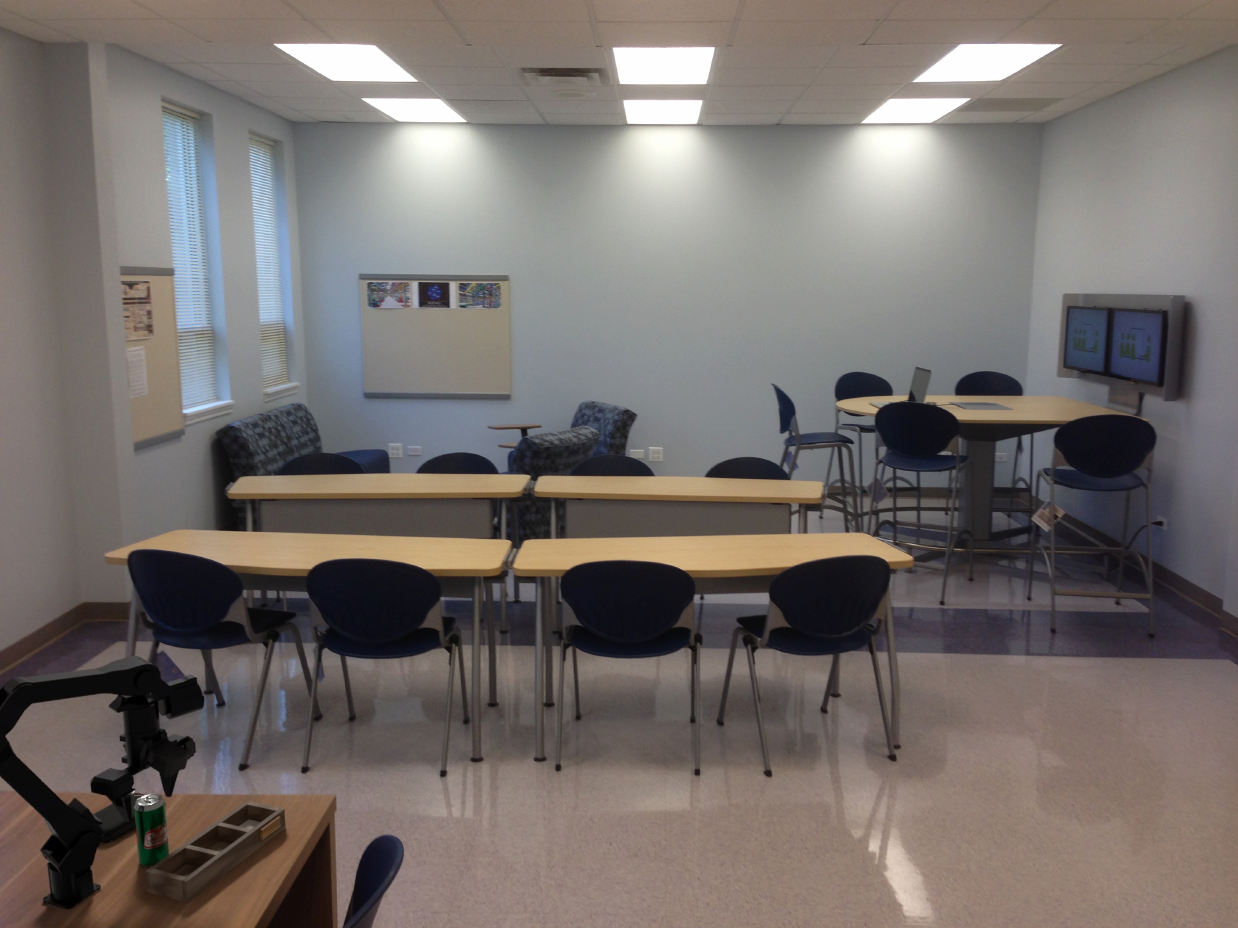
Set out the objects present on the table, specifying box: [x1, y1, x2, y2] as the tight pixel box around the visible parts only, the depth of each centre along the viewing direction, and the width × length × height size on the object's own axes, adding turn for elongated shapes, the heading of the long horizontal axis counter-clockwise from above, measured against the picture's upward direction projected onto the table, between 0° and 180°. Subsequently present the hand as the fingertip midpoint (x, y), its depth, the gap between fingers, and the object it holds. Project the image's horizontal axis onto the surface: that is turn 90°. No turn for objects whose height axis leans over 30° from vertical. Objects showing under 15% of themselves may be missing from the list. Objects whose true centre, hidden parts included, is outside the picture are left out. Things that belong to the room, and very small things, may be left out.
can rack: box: [144, 800, 287, 904], centre depth 176 cm, size 10×25×4 cm, turn 160°
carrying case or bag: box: [93, 792, 167, 844], centre depth 189 cm, size 11×3×15 cm
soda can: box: [134, 793, 170, 868], centre depth 175 cm, size 5×5×12 cm
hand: (149, 808), depth 174 cm, fingers open, 9 cm apart
